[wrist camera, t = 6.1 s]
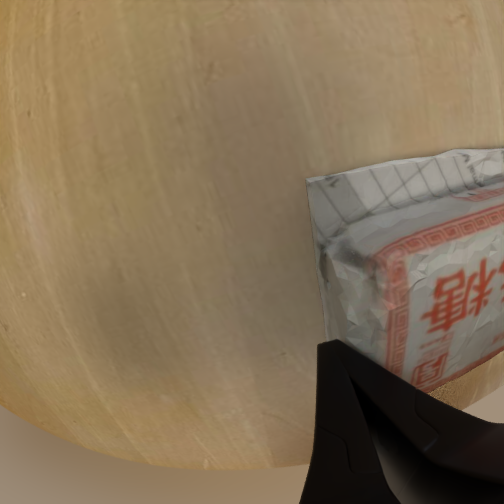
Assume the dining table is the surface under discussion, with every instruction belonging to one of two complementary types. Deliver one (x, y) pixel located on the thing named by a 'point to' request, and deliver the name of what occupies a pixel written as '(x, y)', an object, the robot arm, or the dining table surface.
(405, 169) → the packaged product
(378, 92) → the dining table surface
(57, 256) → the dining table surface
